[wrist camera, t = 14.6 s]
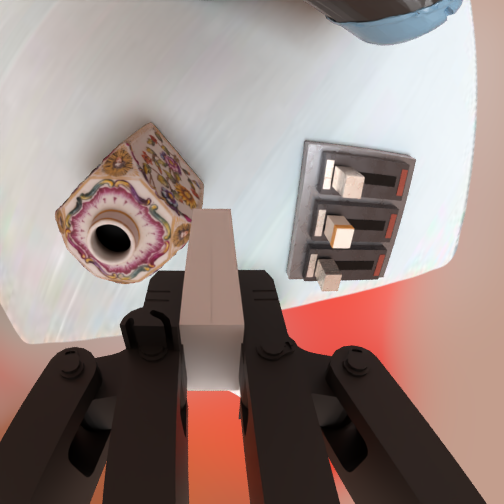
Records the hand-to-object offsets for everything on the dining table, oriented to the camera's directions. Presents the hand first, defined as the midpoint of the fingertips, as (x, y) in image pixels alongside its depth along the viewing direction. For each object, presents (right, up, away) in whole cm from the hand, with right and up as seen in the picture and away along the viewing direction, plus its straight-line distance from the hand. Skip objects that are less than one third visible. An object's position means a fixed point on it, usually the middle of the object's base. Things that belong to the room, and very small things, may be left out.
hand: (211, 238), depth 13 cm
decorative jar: (-13, +9, +28) cm, 32 cm away
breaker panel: (+16, +5, +33) cm, 38 cm away
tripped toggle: (+13, +3, +30) cm, 33 cm away
